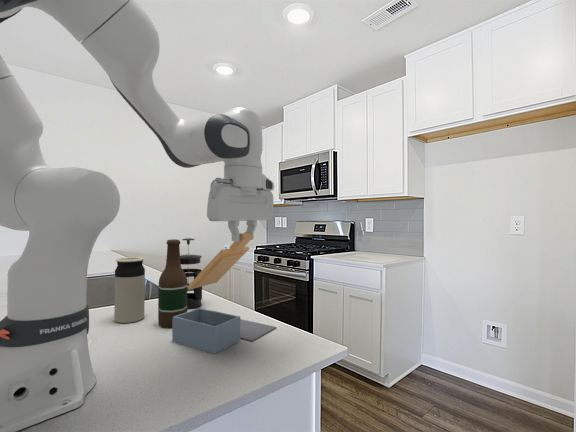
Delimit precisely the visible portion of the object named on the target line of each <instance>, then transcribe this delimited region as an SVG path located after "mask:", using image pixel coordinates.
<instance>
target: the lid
mask: <svg viewBox="0 0 576 432" xmlns="http://www.w3.org/2000/svg"><path fill="white" fill-rule="evenodd" d="M241 238H242V240H241V241H237V242H236V241H233V242H232V243H231V244H230V246H229V248H225V249H221V250H220V251H219V252H218V253H217V254H216V255H215V256H214V257H213V258H212V259H211V261H209V263H208V264H207V265H206V266H205V267H204V268H203V269H201V270H202V271H201V272H200V274H199V275H198V276H197V277H196V278H195V279H194V278H193V280H192V281H191V282H190V283H189V285H188V287H187V288H188V290H190V289H193V288H197V287H201V286H202V287H203V286H208V285H213V284H217V283H218V282H219V281H220V280H221V279H222V278H223V276H225V275H226V273H227V272H228V271H229V270H231V268H232V267H233V266H234V265H235V264H237V262H239V260H241V258H242V257H243V256H244V255H245V254H246V253H247V252H249V250H250V247H249V246H248V244H249V243H250V242H251V241H252V240H251V239H252V238H253V236H252V235H251V233H244V232H242V237H241ZM253 239H254V238H253Z"/></svg>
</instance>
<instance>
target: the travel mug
mask: <svg viewBox="0 0 576 432" xmlns="http://www.w3.org/2000/svg"><path fill="white" fill-rule="evenodd" d="M144 260H145V258H144V257H140V256H130V257H129V256H125V257H119V258H116V259H115V262H116V265H117V266H116V268H115V270H114V312H113V314H114V319H113V320H114V322H116V323H119V324H131V323H132V324H133V323H136V322H139V321H141V320H143V319H144V318H145V297H146V296H145V292H146V291H145V290H146V289H145V287H146V284H145V279H146V276H145V275H146V269H145V267H144V265H143V264H144V263H143V262H144Z"/></svg>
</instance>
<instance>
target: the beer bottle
mask: <svg viewBox="0 0 576 432" xmlns="http://www.w3.org/2000/svg"><path fill="white" fill-rule="evenodd" d="M180 244H181V240H180V239H174V238H173V239H168V240H166V245H167V246H166V247H167V249H166V261H165V262H166V263H165V268H164V270H163V271H162V272H161V273H160V276H159V279H158V289H157V290H158V294H157V297H158V298H157V299H158V302H157V305H158V306H157V309H158V310H157V311H158V312H157V314H158V315H157V319H158V320H157V321H158V325H159V327H161V328H162V329H172V320H173V317H174V316H177V315H180V314H183V313H186V312H188V310H187V293H188V291H187V282H188V277H186V274H185V272H184V271H183V269H184V268H182V264H181V263H180V255H181V253H180V252H181V249H180Z"/></svg>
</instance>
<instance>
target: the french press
mask: <svg viewBox="0 0 576 432" xmlns="http://www.w3.org/2000/svg"><path fill="white" fill-rule="evenodd" d="M181 240H182V241H186V245H187V254H180V263H181V265H182V266H183V265H185V266H186V265H187V268H182V269H183V271H184V272H185V274H186V277H187V287H188V285H189V284H190V283H189V278H193V280H194V279H195V278H196V277H197V276H198V275H199V274H200V272H201V271H202V270H203V269H200V268H189V267H190V266H189V265H196V264H200V263H201V258H202V257H203V256H202V255H198V254H190V244H191V241H195V240H196V239H195V238H190V237H187V238H183V239H181ZM202 299H203V286H201V287H197V288H193V289H190V290H188V288H187V311H188V310H195V309H198V308H201V307H202V305H203V303H202Z"/></svg>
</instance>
